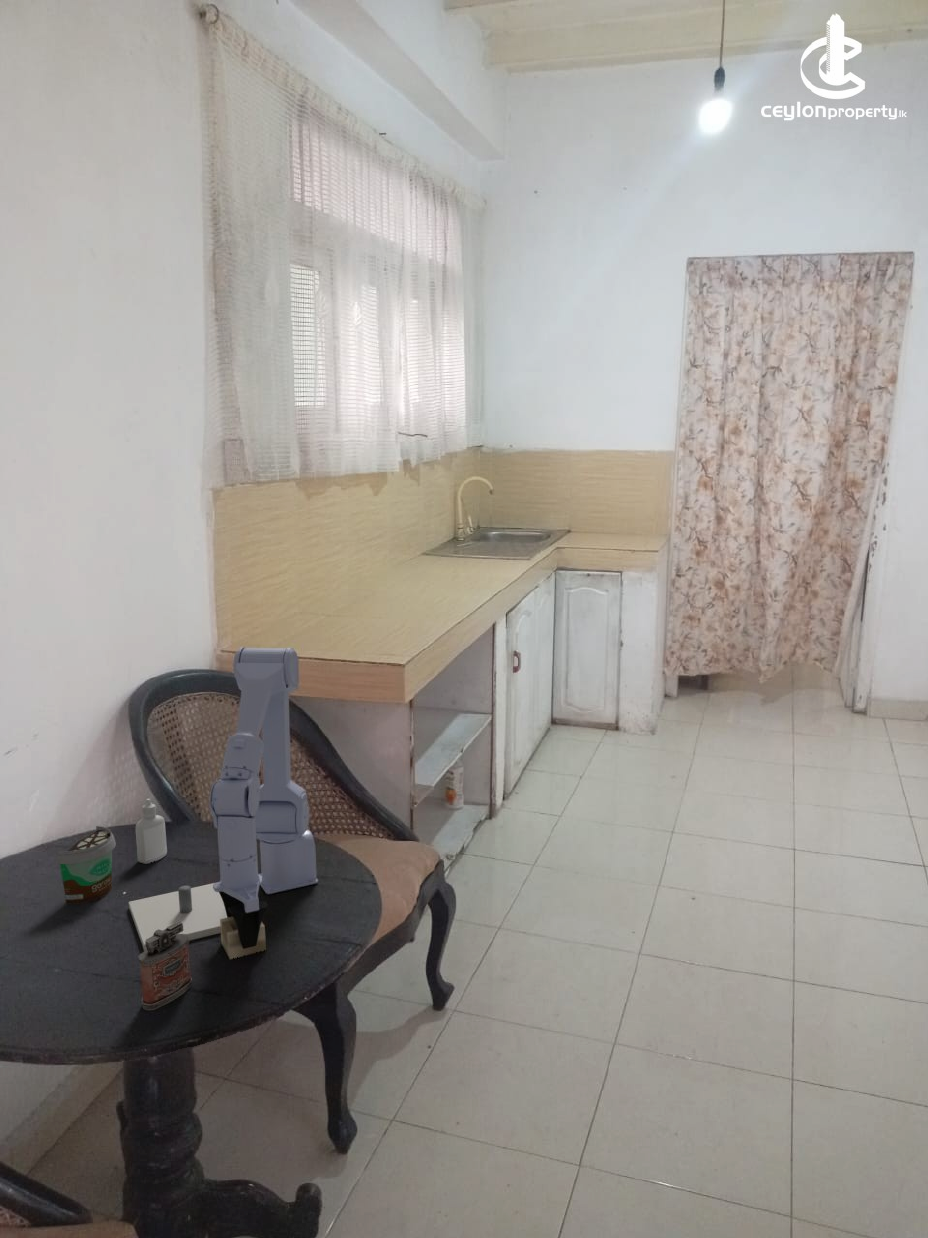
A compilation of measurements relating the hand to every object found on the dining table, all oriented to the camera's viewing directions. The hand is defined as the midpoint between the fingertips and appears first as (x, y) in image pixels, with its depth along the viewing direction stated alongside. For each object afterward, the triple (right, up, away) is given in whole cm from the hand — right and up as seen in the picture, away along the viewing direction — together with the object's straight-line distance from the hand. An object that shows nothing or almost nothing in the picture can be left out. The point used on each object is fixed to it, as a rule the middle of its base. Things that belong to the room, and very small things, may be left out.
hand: (242, 935), depth 145 cm
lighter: (-8, -4, -13) cm, 15 cm away
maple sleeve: (0, -2, 0) cm, 2 cm away
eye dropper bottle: (-25, +3, +33) cm, 42 cm away
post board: (-12, 0, +10) cm, 15 cm away
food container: (-30, +1, +19) cm, 36 cm away
